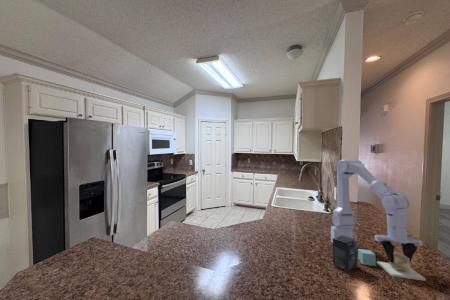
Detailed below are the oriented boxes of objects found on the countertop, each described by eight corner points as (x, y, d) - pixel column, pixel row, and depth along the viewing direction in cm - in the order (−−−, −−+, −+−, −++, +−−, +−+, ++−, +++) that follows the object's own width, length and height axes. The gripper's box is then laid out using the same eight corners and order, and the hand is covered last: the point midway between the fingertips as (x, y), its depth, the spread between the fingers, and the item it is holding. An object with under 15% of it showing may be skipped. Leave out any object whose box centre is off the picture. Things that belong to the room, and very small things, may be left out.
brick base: (395, 269, 71) (395, 256, 72) (388, 263, 76) (388, 251, 76) (410, 271, 70) (409, 258, 71) (402, 265, 75) (401, 253, 75)
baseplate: (392, 276, 69) (391, 274, 69) (377, 263, 79) (377, 261, 79) (425, 280, 67) (425, 278, 67) (406, 266, 77) (406, 264, 77)
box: (348, 272, 71) (347, 242, 73) (332, 265, 76) (332, 238, 77) (357, 266, 76) (356, 239, 77) (342, 260, 80) (341, 234, 82)
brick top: (363, 264, 78) (362, 253, 78) (358, 259, 82) (357, 248, 83) (375, 266, 77) (375, 254, 77) (370, 261, 81) (369, 250, 81)
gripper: (380, 227, 72) (382, 264, 71) (427, 230, 69) (430, 270, 68) (371, 222, 79) (373, 256, 78) (413, 225, 76) (415, 261, 74)
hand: (398, 262), depth 73 cm, fingers open, 5 cm apart
